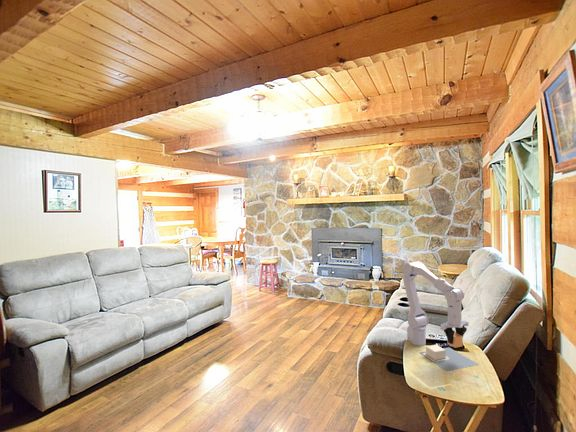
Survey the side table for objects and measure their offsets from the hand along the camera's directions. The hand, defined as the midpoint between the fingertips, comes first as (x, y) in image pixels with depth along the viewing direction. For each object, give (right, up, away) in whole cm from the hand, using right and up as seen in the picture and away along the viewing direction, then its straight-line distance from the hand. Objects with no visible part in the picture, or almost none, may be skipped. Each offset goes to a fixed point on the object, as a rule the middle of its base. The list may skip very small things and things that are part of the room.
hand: (454, 342), depth 144 cm
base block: (-7, -8, +3) cm, 12 cm away
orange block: (0, -1, 0) cm, 1 cm away
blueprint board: (-3, -9, +1) cm, 9 cm away
